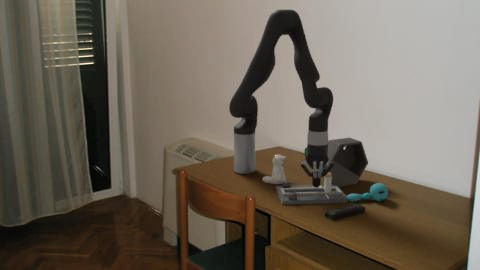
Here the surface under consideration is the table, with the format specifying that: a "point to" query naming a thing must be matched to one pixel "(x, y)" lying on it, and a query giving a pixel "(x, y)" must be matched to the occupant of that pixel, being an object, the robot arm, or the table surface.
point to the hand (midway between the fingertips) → (316, 186)
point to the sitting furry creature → (276, 171)
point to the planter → (346, 161)
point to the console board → (309, 194)
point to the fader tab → (327, 182)
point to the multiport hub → (344, 212)
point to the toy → (371, 193)
